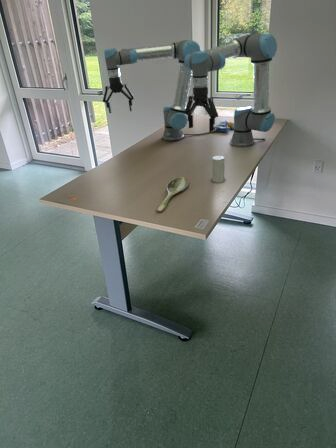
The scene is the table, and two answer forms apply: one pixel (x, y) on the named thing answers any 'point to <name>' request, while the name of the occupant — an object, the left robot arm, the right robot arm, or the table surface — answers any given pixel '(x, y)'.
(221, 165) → the canister
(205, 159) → the table surface
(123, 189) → the table surface
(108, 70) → the left robot arm
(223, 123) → the spray gun
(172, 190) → the spoon
